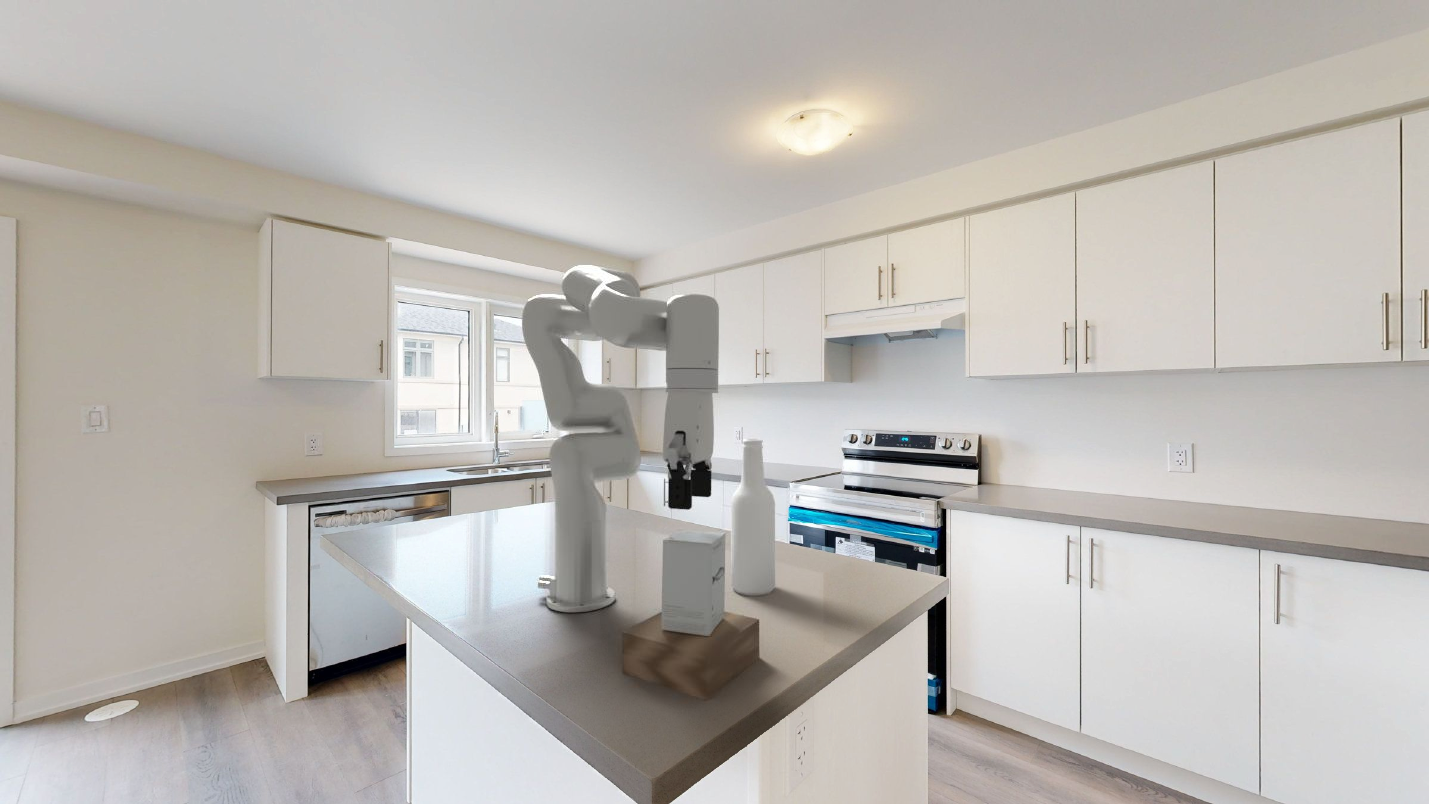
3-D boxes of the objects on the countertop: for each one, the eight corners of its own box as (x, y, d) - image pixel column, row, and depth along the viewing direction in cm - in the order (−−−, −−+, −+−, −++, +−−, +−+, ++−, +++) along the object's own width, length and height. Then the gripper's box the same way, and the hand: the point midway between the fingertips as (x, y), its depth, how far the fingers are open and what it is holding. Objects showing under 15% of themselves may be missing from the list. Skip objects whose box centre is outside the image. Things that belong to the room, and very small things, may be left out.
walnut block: (622, 675, 77) (622, 631, 77) (681, 639, 89) (681, 601, 89) (707, 704, 70) (707, 655, 70) (759, 660, 82) (759, 619, 82)
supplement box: (710, 637, 75) (711, 543, 75) (659, 630, 77) (660, 538, 77) (726, 618, 82) (727, 532, 82) (678, 612, 84) (680, 528, 84)
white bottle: (746, 579, 118) (745, 437, 118) (783, 587, 113) (782, 439, 113) (722, 591, 111) (722, 439, 111) (761, 599, 106) (760, 441, 106)
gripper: (685, 384, 89) (684, 491, 89) (644, 380, 72) (643, 512, 73) (731, 384, 87) (730, 493, 87) (699, 381, 70) (698, 516, 71)
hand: (690, 502), depth 80 cm, fingers open, 9 cm apart
